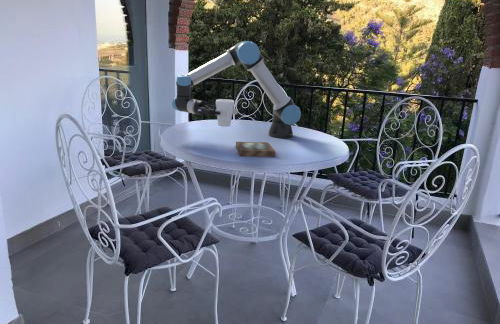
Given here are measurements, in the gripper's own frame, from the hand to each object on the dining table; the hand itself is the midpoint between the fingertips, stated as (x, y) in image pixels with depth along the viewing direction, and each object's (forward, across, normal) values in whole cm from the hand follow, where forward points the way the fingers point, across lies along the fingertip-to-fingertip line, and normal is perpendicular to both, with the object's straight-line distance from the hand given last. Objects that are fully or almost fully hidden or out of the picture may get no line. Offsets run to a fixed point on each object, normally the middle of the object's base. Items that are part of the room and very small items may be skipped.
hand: (231, 112), depth 211 cm
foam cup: (-4, 0, -7) cm, 9 cm away
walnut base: (+11, -6, -20) cm, 24 cm away
